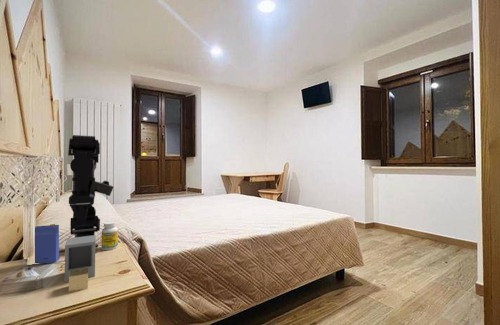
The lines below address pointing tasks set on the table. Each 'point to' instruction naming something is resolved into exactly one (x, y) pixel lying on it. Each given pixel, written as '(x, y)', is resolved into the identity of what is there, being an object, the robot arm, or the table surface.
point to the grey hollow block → (80, 255)
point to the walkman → (47, 244)
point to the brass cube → (78, 280)
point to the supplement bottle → (109, 236)
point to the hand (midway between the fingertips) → (83, 222)
